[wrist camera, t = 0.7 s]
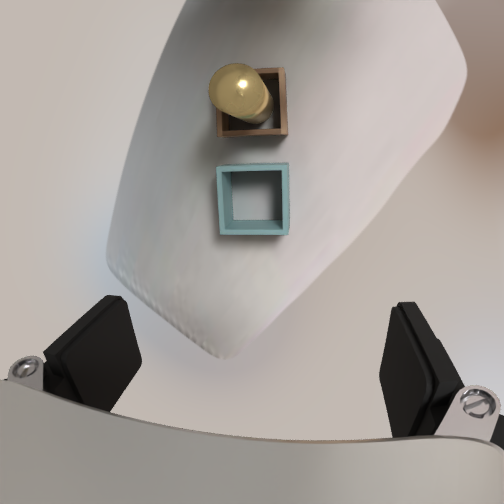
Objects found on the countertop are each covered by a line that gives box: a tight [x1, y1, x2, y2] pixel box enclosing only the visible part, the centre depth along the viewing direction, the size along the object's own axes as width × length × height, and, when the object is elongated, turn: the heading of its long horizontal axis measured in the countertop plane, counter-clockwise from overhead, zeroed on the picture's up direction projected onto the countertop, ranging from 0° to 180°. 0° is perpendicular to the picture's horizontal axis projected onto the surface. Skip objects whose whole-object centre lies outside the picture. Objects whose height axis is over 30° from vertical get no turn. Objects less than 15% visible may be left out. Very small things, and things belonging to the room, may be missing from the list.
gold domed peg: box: [209, 63, 274, 124], centre depth 25 cm, size 4×4×10 cm
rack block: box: [216, 163, 290, 235], centre depth 31 cm, size 7×7×4 cm
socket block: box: [215, 68, 288, 138], centre depth 29 cm, size 7×7×3 cm
